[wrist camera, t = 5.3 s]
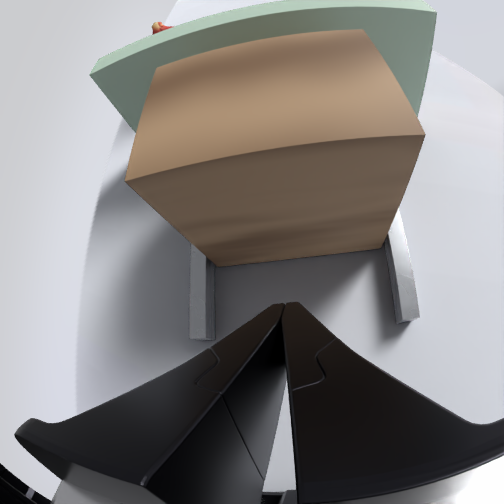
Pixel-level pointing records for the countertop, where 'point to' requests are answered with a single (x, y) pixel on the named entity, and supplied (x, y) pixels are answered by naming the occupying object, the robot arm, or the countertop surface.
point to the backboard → (273, 25)
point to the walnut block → (277, 147)
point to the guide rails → (397, 265)
